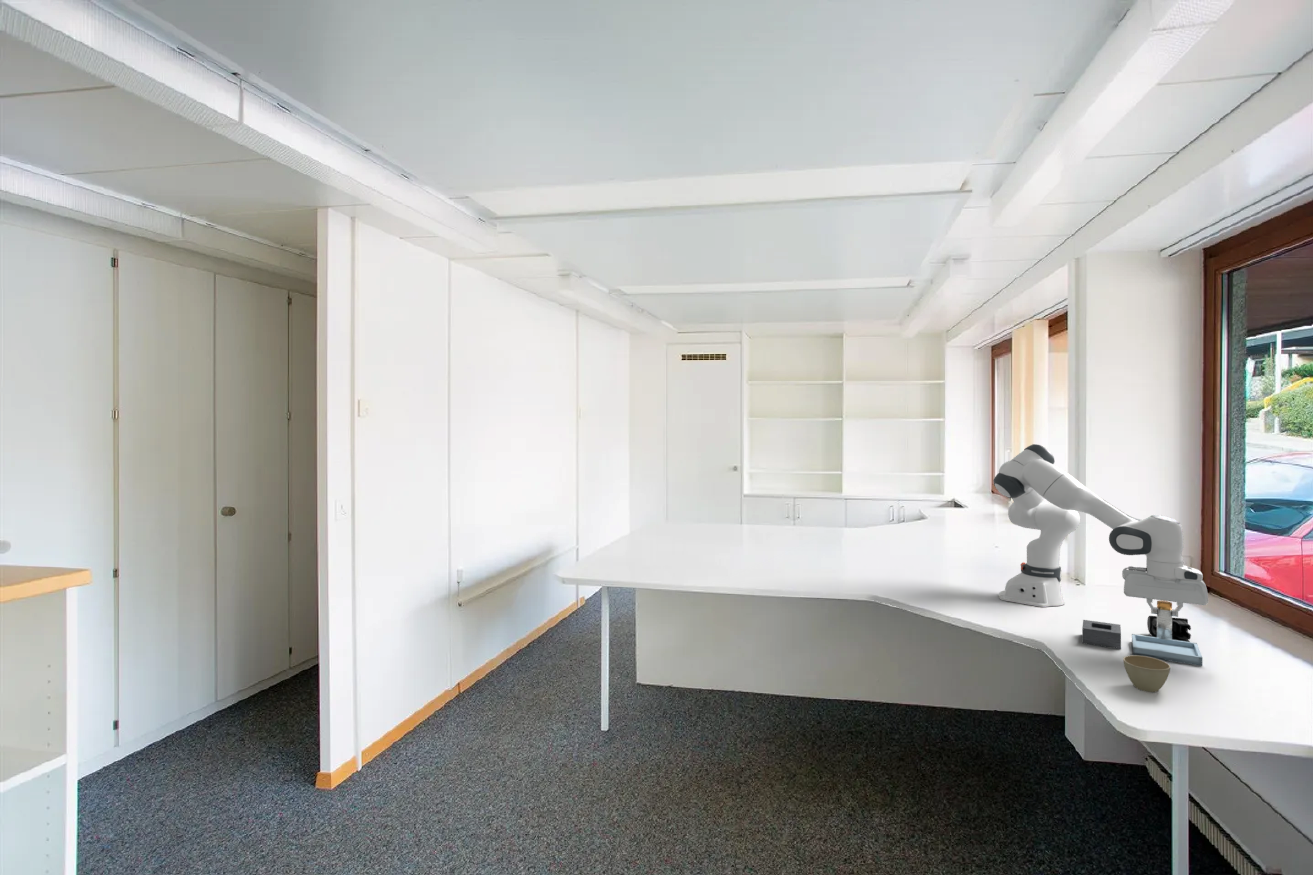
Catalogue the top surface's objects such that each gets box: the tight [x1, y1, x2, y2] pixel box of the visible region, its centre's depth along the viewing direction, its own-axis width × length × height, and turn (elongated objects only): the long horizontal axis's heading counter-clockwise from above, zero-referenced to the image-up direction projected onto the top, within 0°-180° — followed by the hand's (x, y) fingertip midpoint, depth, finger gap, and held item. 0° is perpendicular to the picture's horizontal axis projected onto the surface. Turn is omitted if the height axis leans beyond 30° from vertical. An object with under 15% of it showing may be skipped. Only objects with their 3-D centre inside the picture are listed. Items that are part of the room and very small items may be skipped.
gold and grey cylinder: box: [1156, 600, 1173, 640], centre depth 195 cm, size 4×4×11 cm
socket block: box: [1081, 619, 1122, 650], centre depth 206 cm, size 10×10×5 cm
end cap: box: [1146, 615, 1192, 642], centre depth 208 cm, size 10×7×7 cm
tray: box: [1131, 633, 1203, 667], centre depth 196 cm, size 16×14×2 cm
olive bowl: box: [1123, 654, 1171, 693], centre depth 171 cm, size 10×10×7 cm
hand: (1164, 614), depth 195 cm, fingers closed on gold and grey cylinder, 4 cm apart
